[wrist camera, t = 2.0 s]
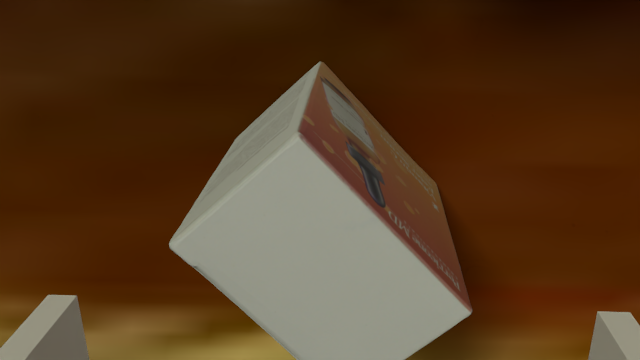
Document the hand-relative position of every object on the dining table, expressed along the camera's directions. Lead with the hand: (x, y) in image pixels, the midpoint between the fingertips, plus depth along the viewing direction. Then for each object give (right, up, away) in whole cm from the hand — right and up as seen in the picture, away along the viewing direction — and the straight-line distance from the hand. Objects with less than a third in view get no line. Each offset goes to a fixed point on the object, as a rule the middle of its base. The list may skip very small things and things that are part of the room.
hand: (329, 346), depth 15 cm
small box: (0, +5, +12) cm, 14 cm away
